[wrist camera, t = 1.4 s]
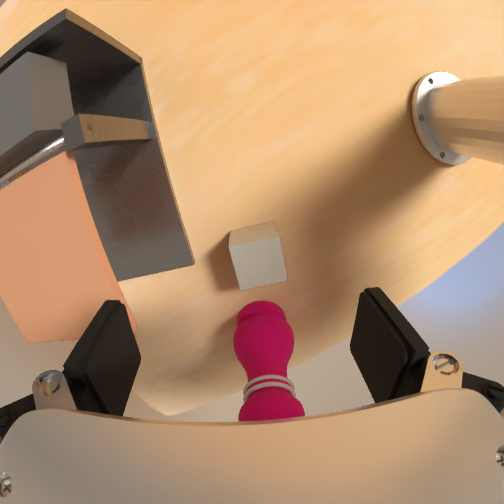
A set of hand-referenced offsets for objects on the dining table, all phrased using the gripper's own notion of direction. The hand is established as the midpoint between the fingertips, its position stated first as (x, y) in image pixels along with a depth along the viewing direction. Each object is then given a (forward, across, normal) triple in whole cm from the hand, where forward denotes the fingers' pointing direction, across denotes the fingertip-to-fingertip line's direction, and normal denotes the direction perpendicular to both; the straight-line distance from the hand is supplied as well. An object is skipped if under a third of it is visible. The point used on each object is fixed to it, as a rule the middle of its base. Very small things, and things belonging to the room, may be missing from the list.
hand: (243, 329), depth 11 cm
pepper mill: (+22, -2, +16) cm, 27 cm away
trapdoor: (+11, +17, -3) cm, 21 cm away
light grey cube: (+22, -2, +5) cm, 23 cm away
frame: (+22, +17, -4) cm, 28 cm away
